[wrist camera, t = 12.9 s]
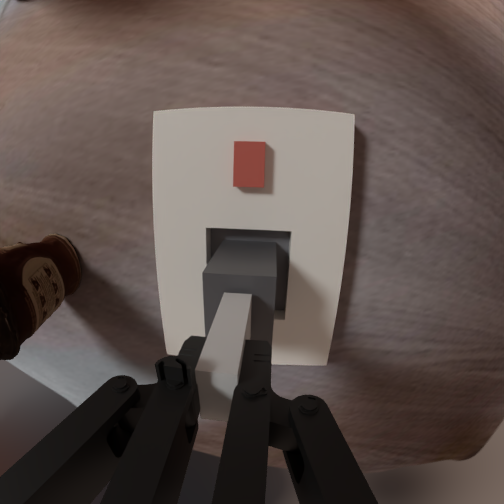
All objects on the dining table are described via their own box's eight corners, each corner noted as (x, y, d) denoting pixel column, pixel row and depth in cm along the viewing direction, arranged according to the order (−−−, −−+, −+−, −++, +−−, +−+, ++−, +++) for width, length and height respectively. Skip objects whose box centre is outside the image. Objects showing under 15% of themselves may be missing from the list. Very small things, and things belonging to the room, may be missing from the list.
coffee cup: (94, 232, 24) (-13, 288, 11) (95, 311, 26) (17, 390, 14) (32, 217, 24) (-65, 255, 11) (36, 288, 26) (-42, 344, 14)
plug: (223, 239, 23) (202, 272, 16) (276, 241, 22) (276, 276, 16) (223, 298, 24) (206, 347, 17) (272, 301, 24) (271, 352, 17)
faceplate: (163, 114, 20) (149, 109, 18) (347, 118, 19) (357, 112, 17) (173, 341, 26) (164, 359, 24) (323, 352, 25) (327, 371, 23)
